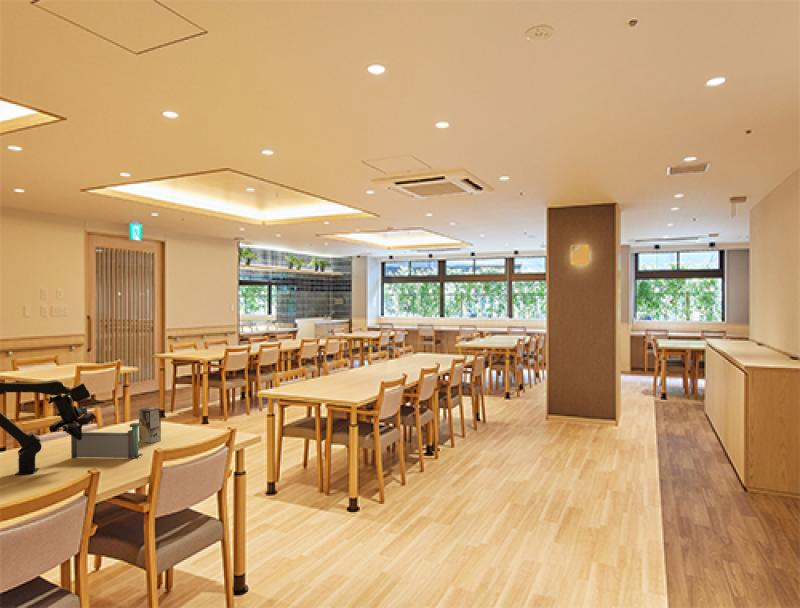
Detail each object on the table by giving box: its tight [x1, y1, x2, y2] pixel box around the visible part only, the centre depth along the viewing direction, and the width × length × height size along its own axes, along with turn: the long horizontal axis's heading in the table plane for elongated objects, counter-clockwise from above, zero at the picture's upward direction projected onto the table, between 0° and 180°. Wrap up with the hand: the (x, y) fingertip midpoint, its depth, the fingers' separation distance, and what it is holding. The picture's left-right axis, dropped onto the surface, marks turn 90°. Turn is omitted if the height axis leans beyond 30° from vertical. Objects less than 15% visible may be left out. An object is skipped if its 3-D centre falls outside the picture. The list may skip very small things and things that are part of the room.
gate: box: [70, 429, 135, 459], centre depth 238 cm, size 29×3×13 cm, turn 88°
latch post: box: [129, 422, 143, 458], centre depth 240 cm, size 5×3×15 cm, turn 87°
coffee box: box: [138, 406, 162, 444], centre depth 266 cm, size 9×6×16 cm
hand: (80, 439), depth 231 cm, fingers closed
